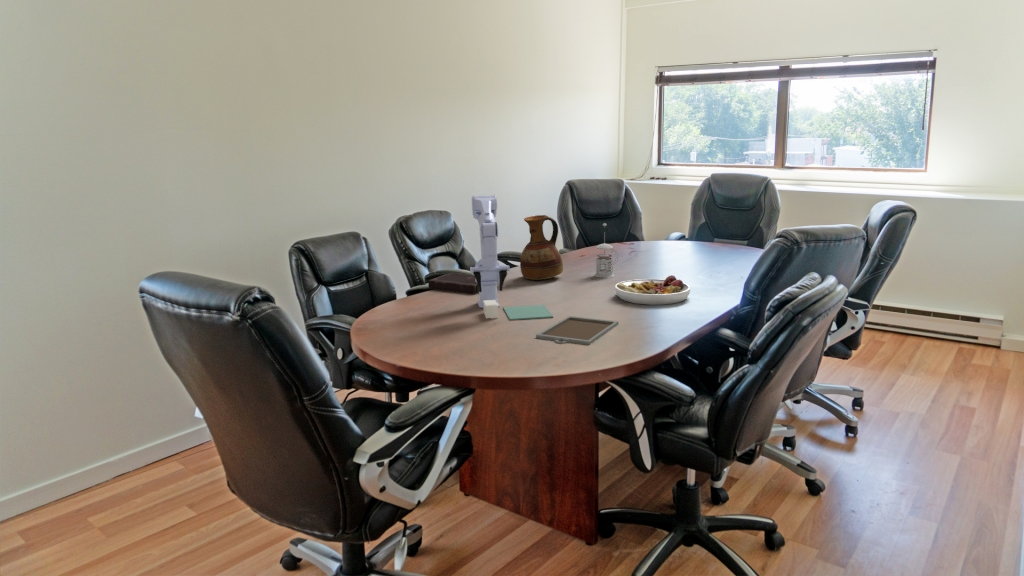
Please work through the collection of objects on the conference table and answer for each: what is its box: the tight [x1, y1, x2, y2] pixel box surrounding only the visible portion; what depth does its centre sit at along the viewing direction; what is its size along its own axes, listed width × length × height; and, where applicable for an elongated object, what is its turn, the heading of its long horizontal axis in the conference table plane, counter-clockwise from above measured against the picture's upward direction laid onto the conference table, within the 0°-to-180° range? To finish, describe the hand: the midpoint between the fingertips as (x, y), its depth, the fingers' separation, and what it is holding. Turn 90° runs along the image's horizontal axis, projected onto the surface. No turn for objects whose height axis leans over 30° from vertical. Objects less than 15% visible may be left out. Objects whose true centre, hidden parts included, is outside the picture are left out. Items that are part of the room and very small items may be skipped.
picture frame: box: [535, 315, 619, 346], centre depth 234 cm, size 19×2×30 cm
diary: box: [427, 272, 479, 295], centre depth 307 cm, size 19×25×5 cm
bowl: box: [614, 275, 691, 306], centre depth 280 cm, size 30×30×8 cm
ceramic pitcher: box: [519, 214, 564, 281], centre depth 321 cm, size 20×20×30 cm
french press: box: [593, 222, 619, 279], centre depth 325 cm, size 10×12×25 cm
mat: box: [503, 304, 554, 321], centre depth 260 cm, size 18×16×1 cm
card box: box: [483, 300, 499, 320], centre depth 258 cm, size 9×4×5 cm, turn 9°
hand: (490, 290), depth 256 cm, fingers open, 7 cm apart
